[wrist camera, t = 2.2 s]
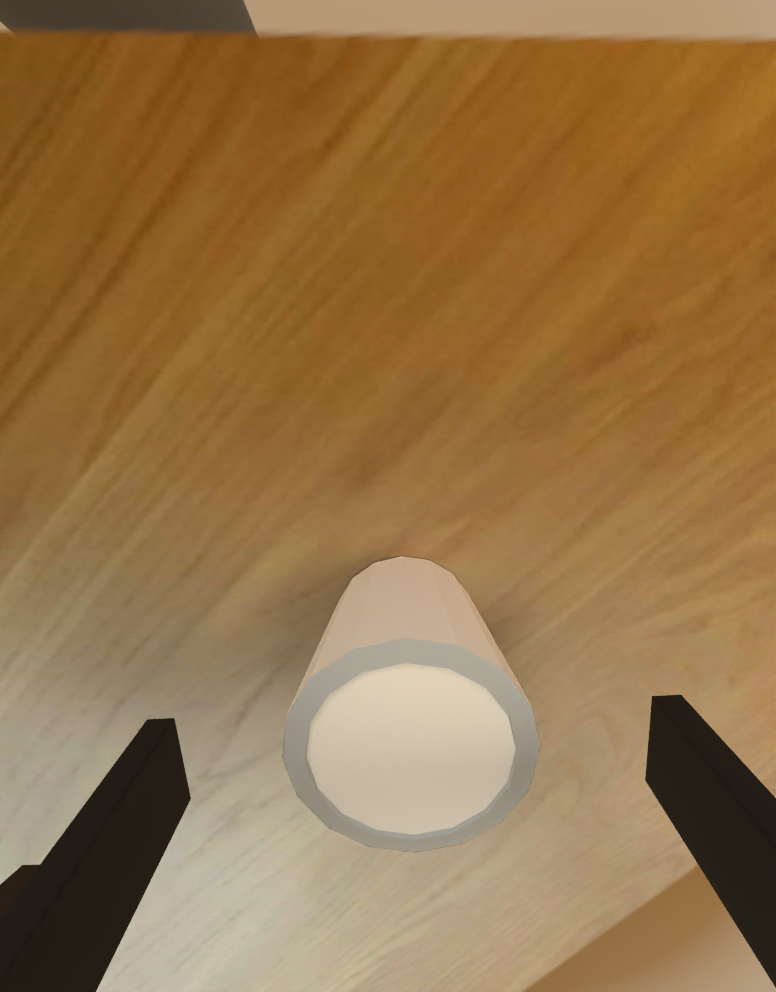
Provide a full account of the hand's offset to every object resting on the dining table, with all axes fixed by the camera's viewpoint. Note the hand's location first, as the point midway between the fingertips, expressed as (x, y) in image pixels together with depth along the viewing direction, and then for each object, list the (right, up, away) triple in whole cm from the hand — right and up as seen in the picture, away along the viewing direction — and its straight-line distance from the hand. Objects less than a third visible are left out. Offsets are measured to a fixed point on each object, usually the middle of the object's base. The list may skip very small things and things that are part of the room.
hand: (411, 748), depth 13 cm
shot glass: (0, +2, +6) cm, 7 cm away
